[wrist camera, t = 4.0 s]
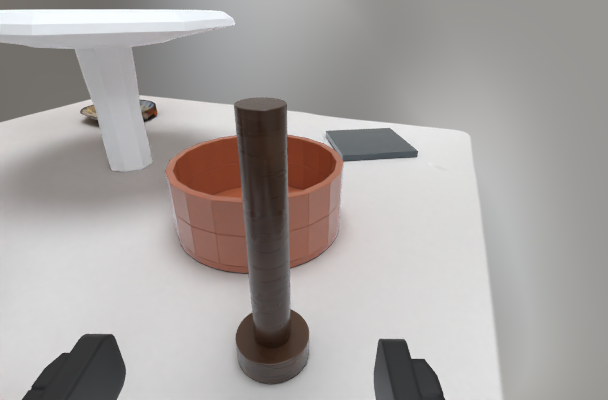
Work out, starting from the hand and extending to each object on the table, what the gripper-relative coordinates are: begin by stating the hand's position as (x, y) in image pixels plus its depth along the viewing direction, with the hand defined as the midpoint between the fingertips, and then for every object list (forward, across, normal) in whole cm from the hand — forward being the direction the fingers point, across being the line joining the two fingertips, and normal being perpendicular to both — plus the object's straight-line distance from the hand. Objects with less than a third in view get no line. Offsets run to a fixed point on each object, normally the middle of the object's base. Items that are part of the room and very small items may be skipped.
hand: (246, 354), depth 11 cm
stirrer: (+6, 0, +8) cm, 10 cm away
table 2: (+33, +20, +8) cm, 40 cm away
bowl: (+20, +2, +8) cm, 22 cm away
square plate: (+41, -10, +8) cm, 43 cm away
